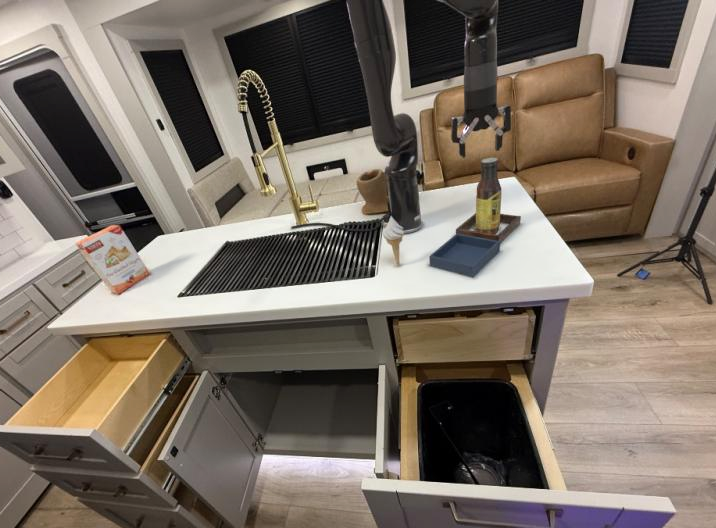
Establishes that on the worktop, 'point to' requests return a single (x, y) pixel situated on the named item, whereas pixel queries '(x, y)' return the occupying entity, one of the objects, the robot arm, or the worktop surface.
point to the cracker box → (113, 258)
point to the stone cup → (373, 191)
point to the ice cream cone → (394, 237)
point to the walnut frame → (504, 218)
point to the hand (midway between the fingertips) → (480, 153)
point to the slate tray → (465, 254)
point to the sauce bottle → (488, 198)
